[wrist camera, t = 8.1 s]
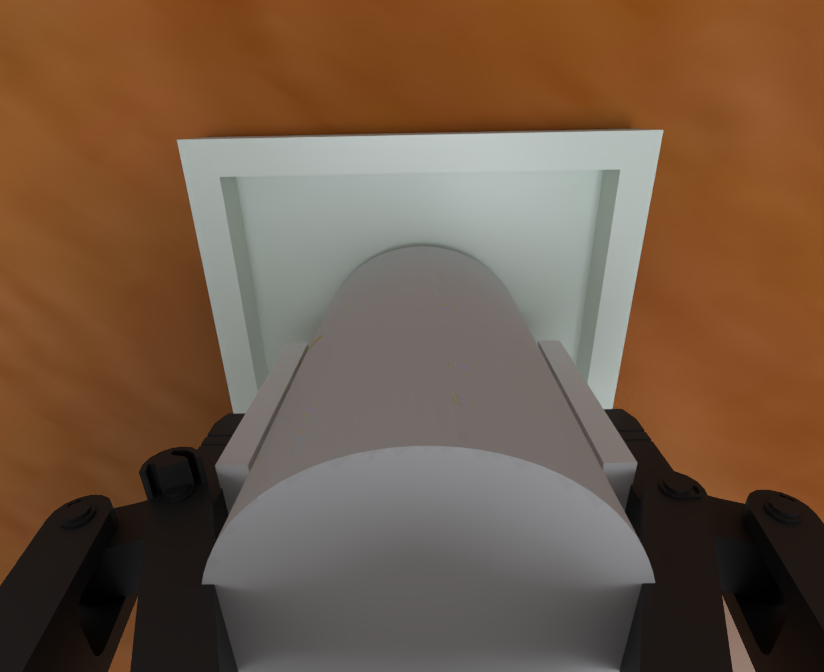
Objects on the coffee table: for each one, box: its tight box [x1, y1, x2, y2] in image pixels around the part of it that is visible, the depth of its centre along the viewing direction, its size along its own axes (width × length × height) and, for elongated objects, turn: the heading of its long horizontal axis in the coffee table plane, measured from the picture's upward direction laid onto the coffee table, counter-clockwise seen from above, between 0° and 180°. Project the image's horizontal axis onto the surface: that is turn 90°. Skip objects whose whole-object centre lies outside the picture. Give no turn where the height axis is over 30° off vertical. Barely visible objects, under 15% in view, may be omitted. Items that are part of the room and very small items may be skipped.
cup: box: [202, 246, 655, 672], centre depth 14 cm, size 8×8×12 cm
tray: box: [177, 129, 663, 414], centre depth 20 cm, size 16×16×2 cm
